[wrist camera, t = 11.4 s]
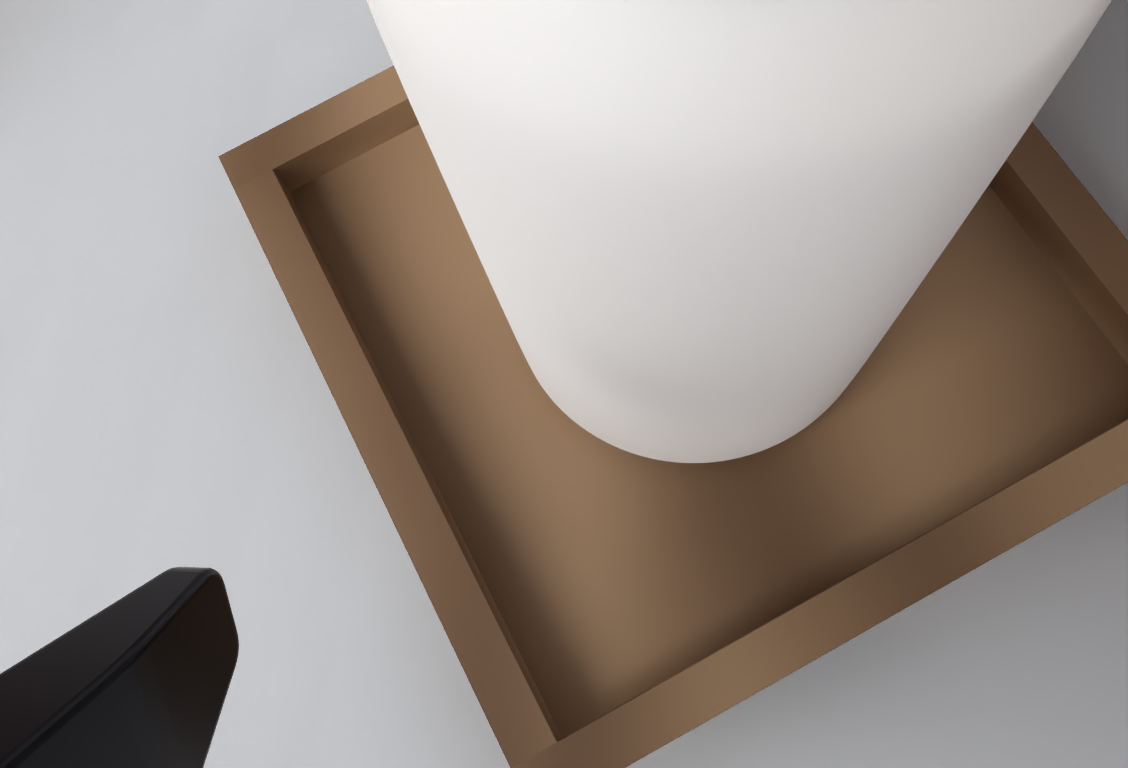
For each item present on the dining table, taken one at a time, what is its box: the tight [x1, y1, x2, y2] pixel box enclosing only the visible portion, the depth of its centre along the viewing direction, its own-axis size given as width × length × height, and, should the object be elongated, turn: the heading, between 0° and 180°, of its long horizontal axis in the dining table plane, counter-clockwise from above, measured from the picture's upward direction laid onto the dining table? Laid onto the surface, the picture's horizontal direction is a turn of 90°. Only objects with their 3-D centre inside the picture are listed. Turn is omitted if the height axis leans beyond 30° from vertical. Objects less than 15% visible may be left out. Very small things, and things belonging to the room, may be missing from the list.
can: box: [367, 0, 1112, 463], centre depth 12 cm, size 6×6×12 cm
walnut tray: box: [219, 66, 1128, 768], centre depth 17 cm, size 13×13×2 cm
